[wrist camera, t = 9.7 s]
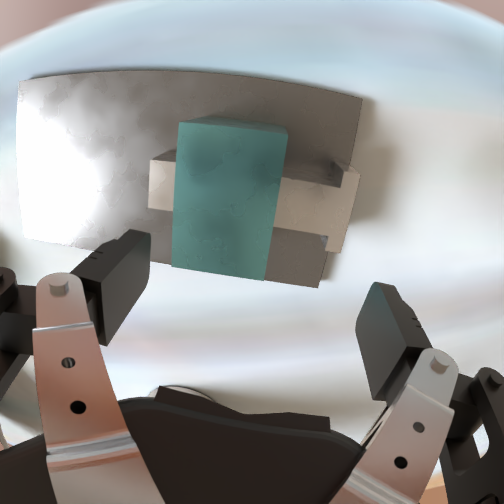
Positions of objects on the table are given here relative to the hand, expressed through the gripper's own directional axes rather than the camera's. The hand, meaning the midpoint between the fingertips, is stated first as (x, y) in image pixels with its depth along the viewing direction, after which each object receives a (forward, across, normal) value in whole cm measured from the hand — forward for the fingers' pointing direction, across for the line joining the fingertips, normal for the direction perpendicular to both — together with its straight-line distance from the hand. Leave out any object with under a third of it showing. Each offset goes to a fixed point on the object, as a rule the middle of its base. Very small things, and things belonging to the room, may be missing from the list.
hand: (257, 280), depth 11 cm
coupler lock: (+11, +2, -1) cm, 11 cm away
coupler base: (+12, +8, 0) cm, 14 cm away
